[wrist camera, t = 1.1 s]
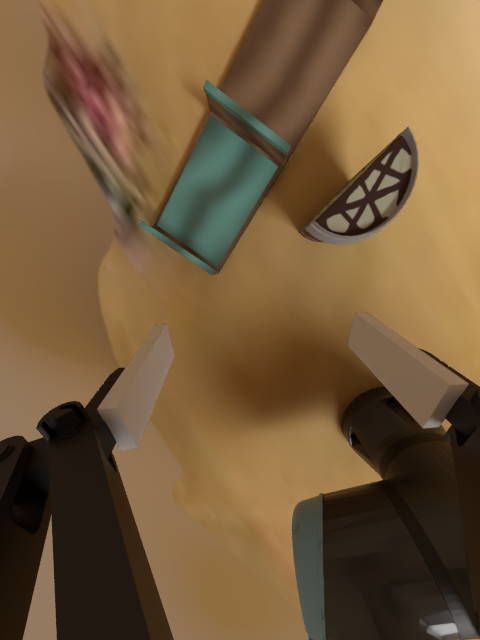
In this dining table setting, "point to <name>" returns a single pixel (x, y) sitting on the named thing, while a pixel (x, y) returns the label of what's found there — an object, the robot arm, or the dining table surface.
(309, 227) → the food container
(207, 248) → the rack
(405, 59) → the dining table surface
